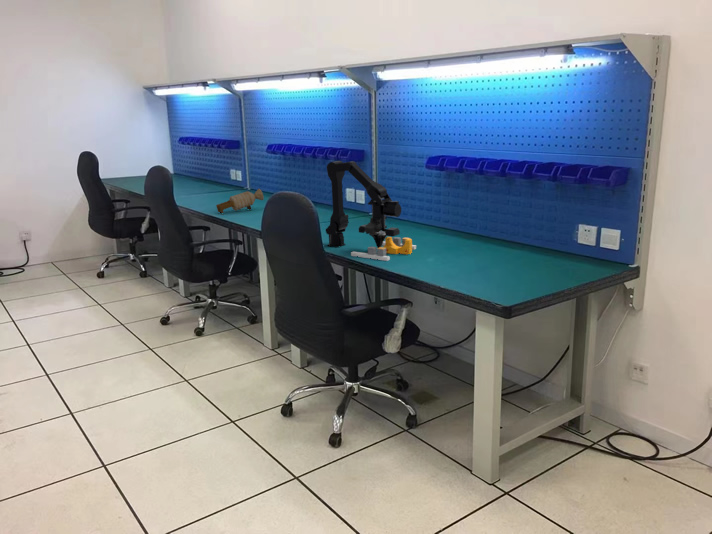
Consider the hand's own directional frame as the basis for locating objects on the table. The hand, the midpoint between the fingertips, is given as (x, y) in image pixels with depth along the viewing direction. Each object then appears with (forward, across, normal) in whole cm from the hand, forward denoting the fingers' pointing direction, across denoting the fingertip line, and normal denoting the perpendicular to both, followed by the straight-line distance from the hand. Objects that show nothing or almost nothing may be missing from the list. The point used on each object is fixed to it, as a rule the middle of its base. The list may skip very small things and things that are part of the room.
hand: (379, 248), depth 265 cm
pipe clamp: (+1, +9, +1) cm, 9 cm away
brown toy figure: (+2, -139, +49) cm, 147 cm away
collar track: (+1, +3, 0) cm, 3 cm away
